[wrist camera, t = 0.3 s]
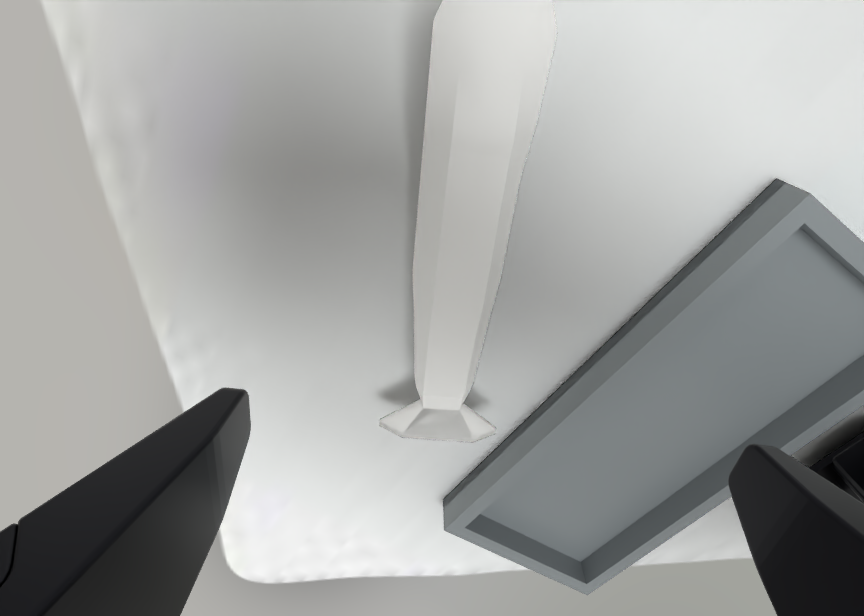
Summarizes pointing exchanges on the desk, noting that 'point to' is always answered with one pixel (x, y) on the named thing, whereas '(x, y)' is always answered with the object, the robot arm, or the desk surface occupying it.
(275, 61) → the desk surface
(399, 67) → the desk surface
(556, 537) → the razor tray
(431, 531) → the desk surface
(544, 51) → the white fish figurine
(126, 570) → the robot arm
